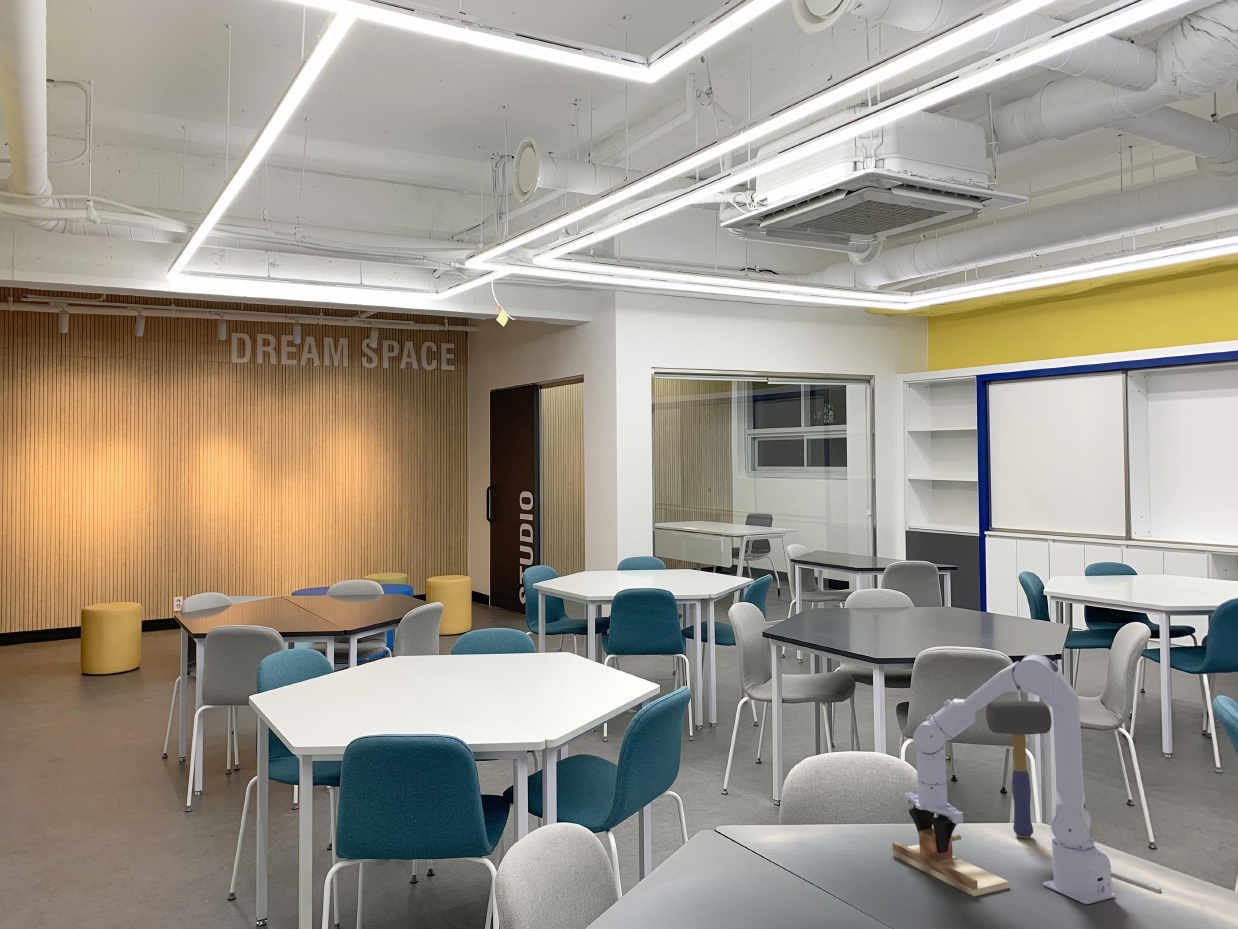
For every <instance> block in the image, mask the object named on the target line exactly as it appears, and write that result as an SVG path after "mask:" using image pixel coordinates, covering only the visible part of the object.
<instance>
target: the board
mask: <svg viewBox="0 0 1238 929" xmlns="http://www.w3.org/2000/svg"><path fill="white" fill-rule="evenodd" d="M892 856H893V857H895V858H897V859H898V860H901V861H903V862H905V863H906V864H909V865H910V866H913V867H914V868H916V869H919V870H920V871H923V872H925V873H926V874H928V875H930V876H933V877H935V878H937V879H938V880H941V882H944V883H946V884H949V885H950V886H953V887H954V888H956V889H958V890H960V891H962V892H964V893H966V894H968V895H970V896H972V897H977V896H982V895H986V894H990V893H994V892H999V891H1002V890H1006V889H1007V890H1008V889H1009V888H1010V882H1009V880H1006V879H1005V878H1002V877H1000V876H998V875H995V874H993V873H991V872H989V871H987V870H985V869H983V868H982V867H978V866H976V865H974V864H972V863H970V862H967V861H966V860H963V859H962V858H959V857H957V856H954V855H953V858H952V859H948V860H943V861H939V862H937V861H935V860H933V859H931V858H929V857H927V856H925V855H923V854H921V853H920V846H919V844H914V845H909V846H906V845H904V844H901V843H900V842H897V841H892Z"/></svg>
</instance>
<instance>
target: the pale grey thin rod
mask: <svg viewBox="0 0 1238 929" xmlns="http://www.w3.org/2000/svg"><path fill="white" fill-rule="evenodd" d="M1112 876H1114V877H1113V878H1115V877H1116V878H1115V879H1118V878H1119V879H1118V880H1121V881H1123V880H1124V882H1126V881H1127V882H1126V883H1130V884H1132V885H1135V884H1136V885H1135V886H1138V887H1140V886H1141V888H1143V887H1144V889H1146V888H1147V889H1146V890H1149V889H1150V890H1149V891H1152V890H1153V891H1152V892H1155V893H1157V892H1158V893H1160V891H1161V892H1162V887H1160V886H1157V885H1153V884H1151V883H1148V882H1145V881H1142V880H1139V879H1137V878H1133V877H1131V876H1128V875H1125V874H1123V873H1119V872H1116V871H1113V870H1111V877H1112Z"/></svg>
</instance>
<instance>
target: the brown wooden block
mask: <svg viewBox="0 0 1238 929" xmlns="http://www.w3.org/2000/svg"><path fill="white" fill-rule="evenodd" d="M960 840H962V836H961V835H960V834H955V835H953V834H952V835H951V839H950V842H949V847H948V852H945V853H938V851H937V846H936V836H935V831H934V828H933V827H932V828H931V829H926V830H921V831H919V834H918V842H919V846H920V853H921V854H923V855H925V856H927V857H929V858H931V859H933V860H935V861H937V862H939V861H943V860H948V859H952V858H953V856H954V855H953V842H956V841H960Z"/></svg>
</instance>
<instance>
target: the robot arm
mask: <svg viewBox="0 0 1238 929" xmlns="http://www.w3.org/2000/svg"><path fill="white" fill-rule="evenodd" d="M1020 690H1024V691H1025V692H1027V693H1030V694H1033V695H1034V696H1037V697H1039V698H1040V699H1041V700H1042V701H1044V703H1045V704H1046V705H1047V706H1048V705H1049V706H1050V707H1051V708H1052V717H1053V739H1054V759H1055V760H1054V761H1055V762H1054V763H1055V766H1054V767H1055V785H1056V786H1055V787H1056V798H1055V813H1054V816H1053V818H1052V820H1051V824H1050V827H1051V828H1050V829H1051V831H1052V835H1051V848H1052V849H1051V850H1052V874H1053V879H1052V880H1048V881H1047V880H1046V881H1044V882H1042V885H1043V886H1045V887H1047V888H1048V889H1050V890H1053V891H1055V892H1058V893H1060V894H1063V895H1065V896H1067V897H1069V898H1071V899H1073V900H1076V901H1078V902H1080V903H1082V904H1085V905H1089V904H1093V903H1094V904H1095V903H1096V902H1097V903H1098V902H1101V901H1104V900H1108V899H1111V898H1115V897H1116V894H1115V893H1114V892H1113V890H1112V888H1113V886H1112V876H1111V871H1112V867H1111V861H1110V859H1109V857H1108V856H1107V854H1106V853H1103V851H1100V850H1099V849H1098V848H1097V847H1096V845H1095V840H1094V839H1093V838H1092V837H1091V835H1090V829H1091V825H1092V821H1093V819H1092V814H1091V812H1090V810H1089V808H1088V806H1087V803H1086V795H1085V791H1084V774H1083V773H1084V771H1083V754H1082V753H1083V752H1082V750H1083V749H1082V748H1083V746H1082V730H1081V729H1082V728H1081V712H1080V708H1081V707H1080V706H1081V705H1080V698H1079V695H1078V693H1077V692H1076V690H1075V689H1074V688H1073V686H1072V685H1071V684H1070V682H1069V680H1068V679H1067V678H1066V677H1065V675H1064V674H1063V672H1062V670H1061V668H1060V667H1059V665H1058V664H1056V662H1054V661H1052V659H1050V658H1048V657H1047V656H1046V655H1043V654H1040V653H1035V652H1033V653H1029V654H1027V655H1025V656H1024V657H1023V658H1022V659H1021V661H1019V660H1017V661H1015V662H1014V663H1012V664H1010V665H1007V667H1004V668H1003V669H1001V670H1000V671H999V672H997V673H996V674H994V676H992V677H991V678H990V679H989V680H988V681H986V682H984V684H982V686H980V687H978V689H976V690H975V691H973V692H972V694H970V695H969V696H968V697H967V698H965V699H963V698H962V699H961V698H954V699H952V700H950V699H947V700H946V701H944V702H943V707H941V709H939V710H938V711H936V712H935V713H934V714H931V713H930V714H929V715H928V716H927V717H926V720H925V721H923V722H922V723H921V724H920V725H918V726H917V728H916V729H914V732H913V734H912V741H913V744H914V745H915V748H916V776H917V777H916V778H917V780H916V781H917V783H916V784H917V793H914V792H912V791H911V792H905V793H904V803H905V804H907V805H909V804H911V805H913V807H912V808H909V809H908V813H909V815H910V817H911V819H912V820H913V823H914V825H915V827H916V830H917V834H918V835H919V831H921V830H926V829H931V828H934V831H935V836H936V846H937V851H938V853H945V852H948V847H949V842H950V839H951V835H952V836H953V832H954V830H955V828H956V827H957V825H958V824H961V823H964V813H963V812H962V811H960V810H958V809H957V808H956V807H954V806H952V805H951V804H950V803H949V802H948V786H947V785H948V784H947V762H946V756H945V753H946V752H945V744H947V742H948V741H950V740H953V739H954V738H955V737H957V736H958V735H959V734H961V733H962V732H963V731H965V730H966V729H967V728H969V727H970V726H972V725H973V724H974V723H975V721H976V713H977V712H978V711H980V710H981V709H982V708H984V707H985V706H987V705H988V703H989V702H993V701H995V700H996V698H998V697H999V696H1001V695H1002V694H1004V693H1006V692H1019V691H1020ZM935 815H937V816H935Z"/></svg>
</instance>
